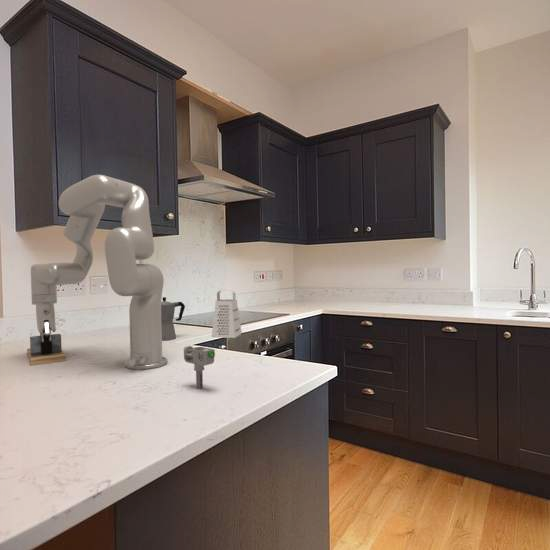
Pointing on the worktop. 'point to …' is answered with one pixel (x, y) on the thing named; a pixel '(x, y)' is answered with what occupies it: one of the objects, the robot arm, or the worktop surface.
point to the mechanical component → (199, 361)
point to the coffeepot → (169, 318)
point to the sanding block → (36, 344)
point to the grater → (226, 318)
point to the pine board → (46, 358)
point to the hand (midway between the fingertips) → (46, 351)
